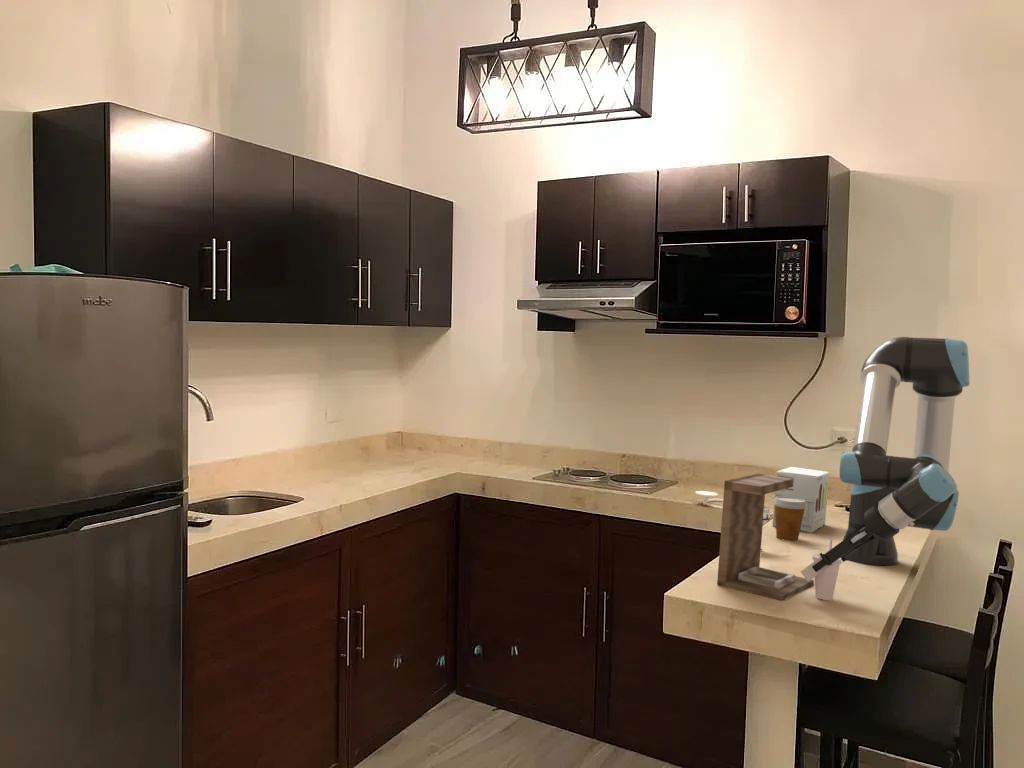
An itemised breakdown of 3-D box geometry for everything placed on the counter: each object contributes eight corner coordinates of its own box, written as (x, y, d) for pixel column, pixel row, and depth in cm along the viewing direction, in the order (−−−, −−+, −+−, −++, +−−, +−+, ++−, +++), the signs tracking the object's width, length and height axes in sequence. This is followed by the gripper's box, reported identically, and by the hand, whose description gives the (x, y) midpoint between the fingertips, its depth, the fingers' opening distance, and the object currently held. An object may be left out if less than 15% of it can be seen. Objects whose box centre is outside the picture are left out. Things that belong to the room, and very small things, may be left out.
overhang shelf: (751, 570, 223) (758, 473, 222) (813, 584, 213) (821, 483, 212) (717, 584, 208) (724, 480, 206) (782, 600, 198) (790, 491, 196)
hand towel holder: (759, 500, 305) (701, 497, 304) (758, 512, 305) (700, 509, 304) (744, 491, 322) (689, 488, 321) (743, 503, 322) (688, 499, 321)
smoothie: (841, 603, 198) (846, 542, 197) (811, 600, 199) (816, 539, 198) (835, 595, 204) (840, 536, 203) (807, 592, 205) (811, 533, 204)
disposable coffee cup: (807, 538, 265) (810, 499, 264) (798, 543, 257) (801, 503, 256) (776, 533, 270) (779, 495, 270) (766, 538, 262) (769, 498, 262)
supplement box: (813, 533, 274) (818, 476, 273) (771, 526, 281) (775, 470, 280) (826, 525, 288) (830, 471, 287) (786, 518, 295) (790, 465, 294)
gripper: (887, 537, 183) (805, 595, 195) (912, 525, 198) (834, 579, 210) (864, 508, 186) (784, 567, 198) (889, 498, 201) (814, 553, 213)
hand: (810, 573), depth 204 cm, fingers closed on smoothie, 6 cm apart
